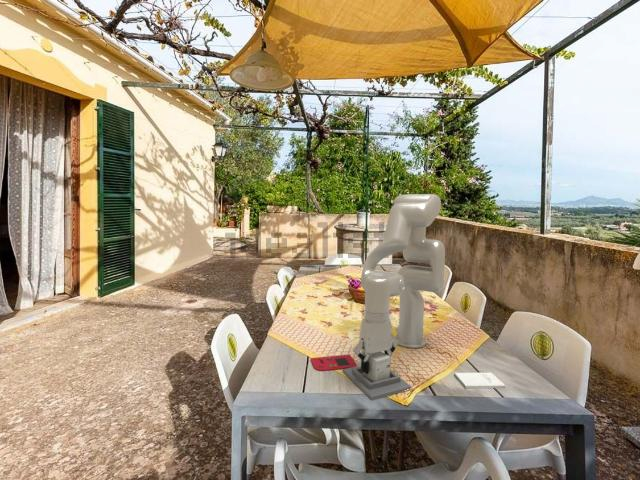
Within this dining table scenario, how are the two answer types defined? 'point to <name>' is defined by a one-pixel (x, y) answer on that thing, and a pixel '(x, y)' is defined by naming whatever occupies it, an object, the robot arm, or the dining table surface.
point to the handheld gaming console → (333, 363)
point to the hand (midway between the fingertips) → (375, 369)
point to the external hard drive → (478, 380)
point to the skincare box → (378, 366)
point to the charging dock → (376, 383)
